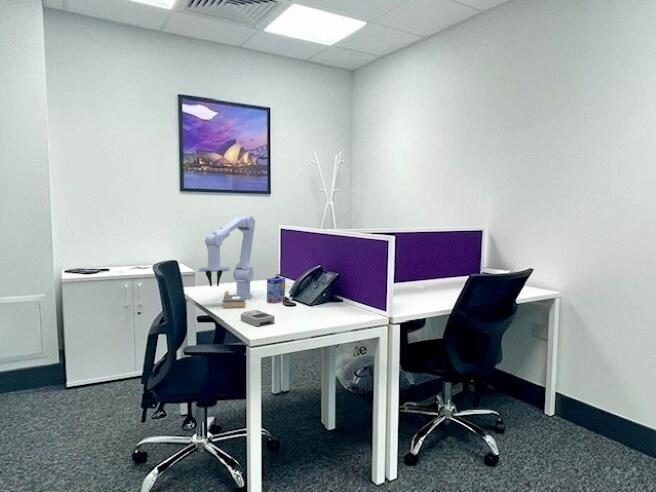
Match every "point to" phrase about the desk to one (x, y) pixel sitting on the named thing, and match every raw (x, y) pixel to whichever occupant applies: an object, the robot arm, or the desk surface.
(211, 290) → the desk surface
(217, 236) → the robot arm
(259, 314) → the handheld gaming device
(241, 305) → the kraft box
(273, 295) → the ink cartridge box
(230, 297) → the lid
